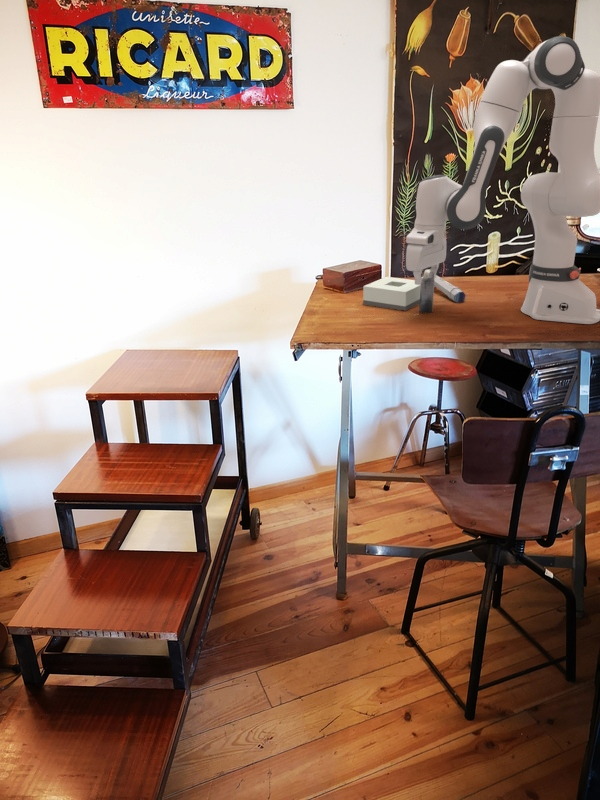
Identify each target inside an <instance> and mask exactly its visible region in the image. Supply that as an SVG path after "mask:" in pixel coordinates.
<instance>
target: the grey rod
mask: <svg viewBox="0 0 600 800" xmlns="http://www.w3.org/2000/svg"><path fill="white" fill-rule="evenodd" d="M430 270H431V269H428V268H426V269H424V272H423V274H422V276H421V278H428V277H429V273H430ZM435 288H437V289H438V290H439V291H441V292H442V293H444V295H446V296H447V297H448V298H449V300H450V301H453V302H455V303H457V304H458V303H463V302H464V301H465V300H466V296H467V295H466V293H465V292H464V291H463V290H462V289H461V288H460V286H455V285H453V284H451V283H450V282H448V281H446V280H445V279H443V278H442V277H441V276H439V275H437V274H436V278H434V289H435Z"/></svg>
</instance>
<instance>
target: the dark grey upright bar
mask: <svg viewBox="0 0 600 800" xmlns="http://www.w3.org/2000/svg"><path fill="white" fill-rule="evenodd" d="M434 289H435V288H434V278H423V279H422V284H421V287H420V304H418V305H419V306H418V308H419V309H418V310H419V311H418V312H419V313H421V314H430V313H433V312H434V311H433V310H434V309H433V308H434V293H435V290H434Z"/></svg>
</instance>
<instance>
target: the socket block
mask: <svg viewBox="0 0 600 800" xmlns="http://www.w3.org/2000/svg"><path fill="white" fill-rule="evenodd" d="M420 287H421V284H420V285H416V284H415V279H409V278H408V279H407V278H399V277H392V276H385V277H382V278H380V279H378V280H375V281H373V282H372V281H371V282H370V283H368V284H365V285H363V289H362V290H363V292H362V293H363V294H362V295H363V296H362V297H363V298H362V299H363V300H362V302H363V303H362V304H363V305H364V306H369V307H375V306H376V307H377V308H382V309H388V308H390V310H394V309H397V311H401V310H404V311H403V312H406V311H409V310H410V309H412V308H414V307H415V306H418V305H420ZM376 307H375V308H376Z"/></svg>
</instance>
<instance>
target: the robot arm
mask: <svg viewBox="0 0 600 800" xmlns="http://www.w3.org/2000/svg"><path fill="white" fill-rule="evenodd" d="M585 65H586V64H585V62H584V60H583V58H582V54H581V50H580V47H579V45H578V44H577V42H576V41H575V40H573V39H572V38H571V37H568V36H565V35H564V36H563V35H562V36H561V35H558V36H553V37H551V38H549V39H547V40H544V41H543V42H541V43H540V44H538V45H537V46H536V47H535V48H534V49H533V50H532V51H530V52H529V53H528V54H527V55H526V57H524V58H523V59H522V60H521V61H519V60H515V59H510V60H509V59H508V60H504V61H502V62H500V63H499V64H497V66H495V69H494V70H493V72H492V74H491V75H490V78H489V80H488V81H487V84H486V85H485V88H484V90H483V93H482V94H481V98H480V100H479V103H478V106H477V108H476V109H477V110H476V113H475V116H474V120H473V121H474V122H473V127H472V132H473V138H474V139H473V140H474V147H473V149H474V150H473V155H472V158H471V159H470V160H471V161H470V163H469V166H468V169H467V172H466V175H465V178H464V181H463V183H462V184H459V183H458V182H456V181H454V180H452V179H451V178H450V177H448V175H447V174H435V175H430V176H427V177H424V178H423V179H422V180H420V182H419V184H418V187H417V191H416V193H417V194H416V201H415V213H416V217H415V220H414V225H413V228H412V229H411V231H410V232H409V233H408V234H407V235H406V238H405V240H406V241H405V242H406V244H407V246H406V254H405V267H406V270H407V271H410V272H412V274H413V276H414V280H415V284H416V285H420V284H422V279H423V278H421V277H422V273H423V270H427V269H428V268H430V269H429V270H430V273H429V277H428V278H436V275H437V272H438V269H439V266H440V264H441V263H443V262H444V263H445V261H446V260H447V259H446V258H447V239H446V237H445V234H446V223H447V221H449V223H450V225H452V227H454V228H455V229H458V230H463V231H466V230H467V231H468V230H471V229H474V228H476V227H477V226H479V225H480V223H481V222H482V221H483V220H484V217H485V215H486V209H487V201H486V198H487V197H486V196H487V195H486V193H487V190H488V187H489V185H490V184H489V183H490V181H491V178H492V176H493V173H494V169H495V167H496V163H497V161H498V160H499V159H498V158H499V156H500V154H501V153H502V151H503V149H504V147H505V144H506V143H507V141H508V139H509V138H510V136H511V134H512V132H513V130H514V129H515V126H516V124H517V122H518V121H519V117H520V115H521V112H522V109H523V107H524V104H525V101H526V100H527V99H528V96H529V94H530V93H531V92H532V91H543V90H550V89H551V91H552V92H553V95H554V98H555V99H554V104H555V105H554V110H553V115H552V122H551V129H550V136H549V143H548V149H549V151H550V153H551V154H552V155H553V156H554V157H555V159H556V160H557V162H558V166H559V172H552V171H550V172H549V171H548V172H547V171H546V172H541V173H536V174H533V175H530V176H529V177H528V178H526V180H524V183H523V185H522V187H521V189H520V190H521V191H520V200H521V204H522V205H523V206H524V207H525V208H526V210H527V211H528V213H529V215H530V219H531V221H532V226H533V229H534V230H533V231H534V250H533V257H532V262H531V264H530V268H529V272H528V273H529V274H528V288H527V291H526V294H525V298H524V301H523V304H522V306H521V307H520V311H521V313H523V314H525V315H528V316H530V317H531V318H532V319H534V320H539V321H540V320H541V321H548V322H549V321H550V322H559V323H561V322H562V323H571V324H581V325H583V324H584V325H593V324H597V323H599V322H600V308H597V298H596V294H595V292H593V291H592V289H590V288H589V287H588V286H586V285H587V284H586V285H585V283H583V282H582V281H581V280H580V274H581V269H582V268H581V267H579V268H578V267H577V266H576V265H575V257H576V252H577V245H578V237H577V235H576V233H575V232H574V231H573V230H572V229H571V227H570V226H569V224H568V220H567V217H571V218H587V217H595V216H596V215H598V214H599V213H600V171H599V168H598V166H597V163H596V157H595V144H596V143H595V142H596V133H597V128H598V127H597V126H598V121H599V120H598V119H599V115H600V74H599V73H598V72H597V71H595V70H593V69H590V68H586V66H585Z"/></svg>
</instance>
